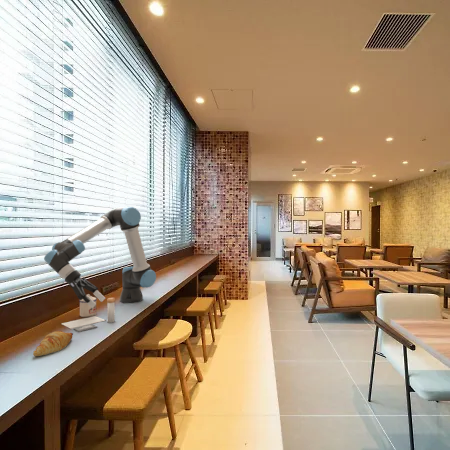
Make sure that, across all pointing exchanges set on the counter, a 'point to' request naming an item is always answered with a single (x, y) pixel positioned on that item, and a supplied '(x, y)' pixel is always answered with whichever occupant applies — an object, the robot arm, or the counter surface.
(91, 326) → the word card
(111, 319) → the white bottle
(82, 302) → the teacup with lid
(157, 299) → the counter surface
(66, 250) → the robot arm
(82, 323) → the paper
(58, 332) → the croissant
